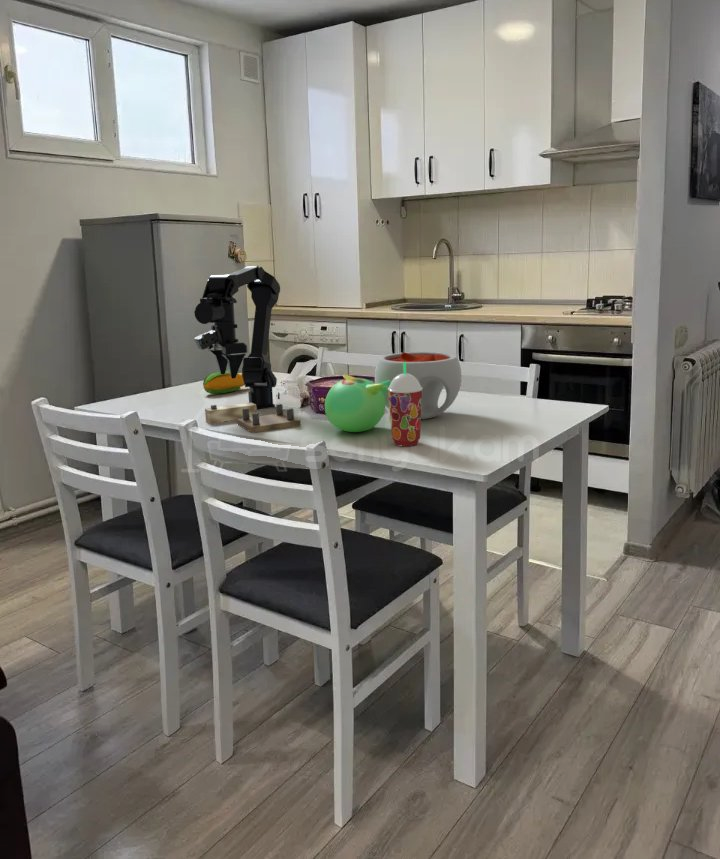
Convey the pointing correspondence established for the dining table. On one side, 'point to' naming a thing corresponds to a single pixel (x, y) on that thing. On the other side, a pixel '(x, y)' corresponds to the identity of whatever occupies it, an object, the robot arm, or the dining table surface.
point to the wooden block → (228, 412)
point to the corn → (222, 383)
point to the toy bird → (356, 404)
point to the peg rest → (268, 420)
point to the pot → (424, 376)
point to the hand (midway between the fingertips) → (228, 376)
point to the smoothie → (405, 408)
